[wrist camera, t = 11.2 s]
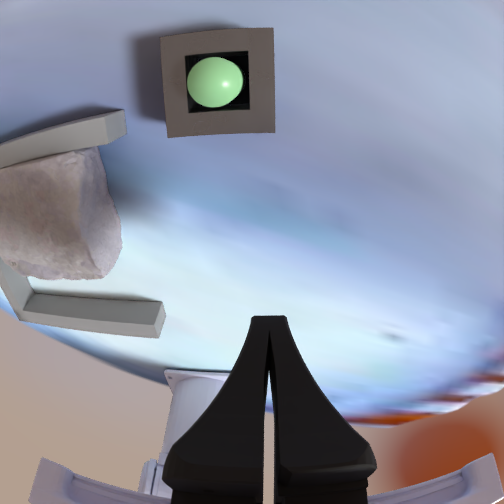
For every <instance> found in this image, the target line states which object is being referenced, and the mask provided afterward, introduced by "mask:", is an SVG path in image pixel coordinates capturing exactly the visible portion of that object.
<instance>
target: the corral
mask: <svg viewBox="0 0 504 504" xmlns="http://www.w3.org/2000/svg"><path fill="white" fill-rule="evenodd" d="M125 134H127V130H126V122H125V114H124V110H120V111H115V112H109V113H105V114H100V115H95V116H91V117H86V118H82V119H78V120H74V121H70V122H66V123H62V124H59V125H55V126H52V127H48V128H45V129H41V130H38V131H35V132H32V133H29V134H26V135H23V136H20V137H17V138H14V139H11V140H8V141H5V142H3V143H0V168H3V167H7V166H10V165H14V164H17V163H21V162H25V161H29V160H32V159H36V158H41V157H45V156H49V155H53V154H58V153H62V152H67V151H72V150H77V149H82V148H88V147H93V146H99V145H105V144H109V143H111V142H113V141H114V140H116V139H118V138H120V137H122V136H124V135H125ZM0 286H1V288H2V290H3V292H4V294H5V296H6V298H7V299H8V301H9V303H10V305H11V307H12V308H13V310H14V312H15V314H16V315H17V317H18V319H19V320H20V321H25V322H31V323H36V324H42V325H48V326H54V327H61V328H67V329H74V330H81V331H89V332H97V333H105V334H114V335H124V336H134V337H146V338H159V337H160V334H161V330H162V327H163V324H164V321H165V318H166V313H165V310H164V306H163V303H162V302H147V301H127V300H110V299H94V298H81V297H68V296H57V295H46V294H35V293H34V291H33V289H32V287H31V285H30V283H29V281H28V279H27V277H24V276H21V275H20V274H18V273H17V272H15V271H13V270H12V268H11V267H10V266H9V265H7V264H5V263H4V261H3V260H2V258H1V256H0Z"/></svg>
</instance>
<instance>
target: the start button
mask: <svg viewBox="0 0 504 504" xmlns="http://www.w3.org/2000/svg"><path fill="white" fill-rule="evenodd" d="M245 83H246V77H245V74H244V72H243V70H242V69H241V67H239V66H238V65H237V64H235V63H233V62H231V61H228V60H226V59H223V58H219V57H211V58H206V59H204V60H201V61H200V62H198V63H197V64H196V65H195V66H194V67H193V68H192V69H191V71H190V73H189V75H188V79H187V87H188V91H189V93H190V95H191V97H192V98H193V99H194V100H195V101H196V102H198V103H199V104H201V105H203V106H206V107H220V106H223V105H225V104H227V103H229V102H230V101H232V100H233V99H234V98H235V97H237V96H238V95H239V94H240V93H241V92H242V90H243V89H244V87H245Z"/></svg>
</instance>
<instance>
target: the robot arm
mask: <svg viewBox="0 0 504 504" xmlns="http://www.w3.org/2000/svg"><path fill="white" fill-rule="evenodd" d="M269 373H270V383H271V392H272V401H273V411H274V504H494V503H496V502H498V501H499V500H501V499H503V498H504V494H503V489H502V485H501V481H500V477H499V473H498V470H497V466H496V463H495V459H494V455H493V453H490V454H488V455H486V456H484V457H481V458H479V459H477V460H475V461H472V462H471V463H469V464H467V465H465V466H464V467H463V468H462V469H460V470H458V471H455V472H452V473H450V474H447V475H444V476H441V477H438V478H435V479H432V480H430V481H426V482H423V483H420V484H416V485H413V486H409V487H406V488H402V489H398V490H394V491H390V492H386V493H381V494H377V495H372V496H367V491H366V488H367V487H368V480H367V478H368V477H369V476H370V475H371V474H372V473H374V471H375V470H376V469H377V464H376V459H375V456H374V454H373V451H372V449H371V447H370V444H369V443H368V442H367V441H366V440H365V439H364V438H363V437H362V436H360V435H359V434H358V433H357V432H356V431H355V430H354V429H353V428H352V427H351V426H350V425H349V423H348V422H347V421H346V420H345V419H344V418H343V417H342V416H341V415H340V413H339V412H338V411H337V410H336V409H335V407H334V406H333V405H332V404H331V403H330V401H329V400H328V399H327V397H326V396H325V395H324V393H323V392H322V390H321V389H320V387H319V386H318V385H317V383H316V381H315V380H314V378H313V377H312V375H311V373H310V371H309V370H308V368H307V366H306V364H305V363H304V361H303V359H302V357H301V355H300V352H299V350H298V348H297V346H296V344H295V342H294V339H293V337H292V334H291V331H290V328H289V325H288V321H287V317H285V316H284V315H281V316H253V317H252V318H251V324H250V328H249V331H248V334H247V337H246V340H245V343H244V345H243V347H242V350H241V352H240V354H239V357H238V359H237V361H236V363H235V365H234V367H233V369H232V371H231V372H230V373H214V372H196V371H181V370H169V369H167V370H165V371H164V375H165V377H166V380H167V382H168V384H169V386H170V389H171V391H172V393H173V398H172V402H171V407H170V412H169V417H168V421H167V427H166V431H165V436H164V442H163V446H162V452H161V453H160V455H159V460H158V463H157V460H155V459H150V461H147V462H145V463H144V466H143V469H142V473H141V478H140V482H139V488H138V492H136V491H132V490H127V489H124V488H120V487H116V486H113V485H109V484H106V483H102V482H99V481H96V480H93V479H90V478H87V477H84V476H81V475H78V474H75V473H73V472H72V471H71V470H69V469H68V468H66V467H64V466H62V465H60V464H57V463H55V462H53V461H50V460H48V459H45V458H41V460H40V463H39V466H38V469H37V473H36V476H35V479H34V483H33V486H32V490H31V493H30V497H29V502H30V503H31V504H263V467H264V463H263V462H264V415H265V405H266V395H267V385H268V375H269Z"/></svg>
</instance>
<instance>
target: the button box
mask: <svg viewBox="0 0 504 504" xmlns="http://www.w3.org/2000/svg"><path fill="white" fill-rule="evenodd" d="M160 48H161V65H162V80H163V93H164V105H165V116H166V126H167V136H168V138H173V137H185V136H198V135H214V134H236V133H275V73H274V31H273V28H238V29H222V30H211V31H201V32H193V33H185V34H178V35H172V36H166V37H160ZM239 55H248V56H249V88H250V104H234V105H223V106H220V107H206V106H201V104H199V103H198V102H196V101H195V100H194V99H193V98H192V97H191V95H190V93H189V91H188V87H187V79H188V75H189V73H190V71H191V69H192V68H193V67H194V66H195V65H196V64H197V63H198V59H199V58H209V57H222V56H239Z"/></svg>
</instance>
